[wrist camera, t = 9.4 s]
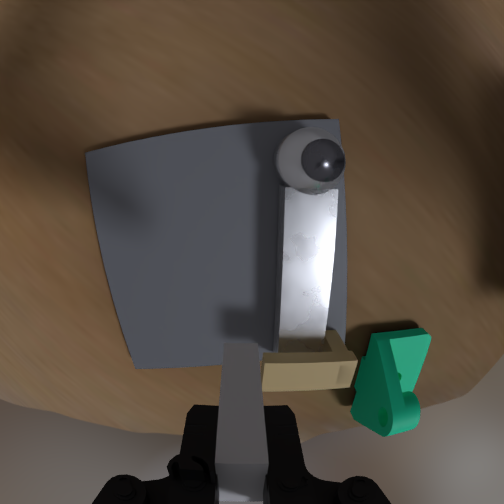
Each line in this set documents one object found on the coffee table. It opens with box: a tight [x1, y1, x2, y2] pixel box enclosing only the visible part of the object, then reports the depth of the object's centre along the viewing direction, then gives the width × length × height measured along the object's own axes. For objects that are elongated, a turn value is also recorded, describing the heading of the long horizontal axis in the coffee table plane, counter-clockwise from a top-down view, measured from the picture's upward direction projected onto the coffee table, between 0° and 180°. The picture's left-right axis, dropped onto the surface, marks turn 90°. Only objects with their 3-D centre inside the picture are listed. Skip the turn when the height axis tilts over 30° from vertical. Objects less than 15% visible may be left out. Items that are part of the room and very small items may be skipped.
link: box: [273, 127, 345, 353], centre depth 23 cm, size 20×5×6 cm, turn 179°
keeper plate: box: [85, 119, 358, 391], centre depth 24 cm, size 22×22×8 cm
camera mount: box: [350, 328, 431, 437], centre depth 28 cm, size 12×8×10 cm, turn 179°
